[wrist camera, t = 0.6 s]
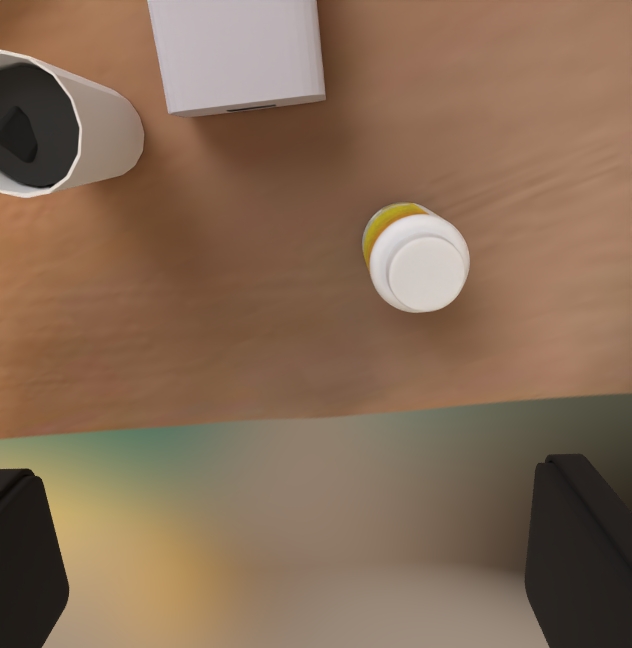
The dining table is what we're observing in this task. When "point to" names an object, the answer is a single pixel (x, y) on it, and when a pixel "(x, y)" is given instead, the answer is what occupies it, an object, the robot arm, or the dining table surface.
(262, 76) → the charger
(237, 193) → the dining table surface
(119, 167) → the coffee cup
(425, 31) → the dining table surface
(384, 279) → the supplement bottle
